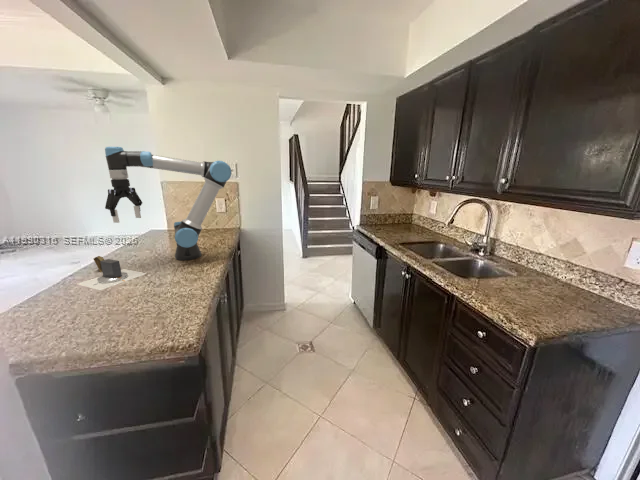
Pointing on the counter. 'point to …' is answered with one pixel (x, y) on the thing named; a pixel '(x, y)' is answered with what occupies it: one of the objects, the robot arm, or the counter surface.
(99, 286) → the dial panel
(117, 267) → the dial
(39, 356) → the counter surface
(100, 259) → the rock
